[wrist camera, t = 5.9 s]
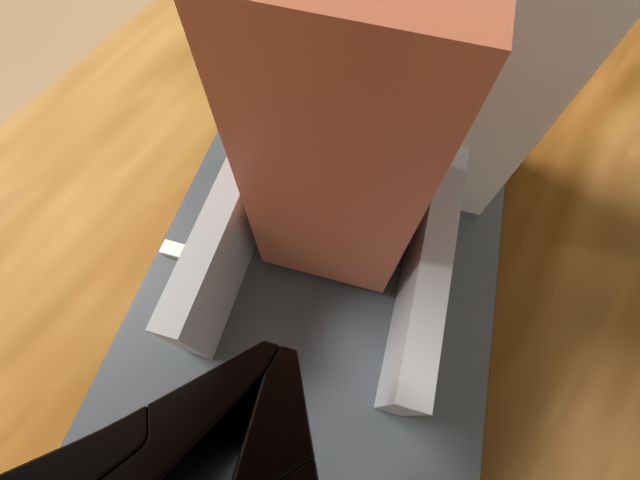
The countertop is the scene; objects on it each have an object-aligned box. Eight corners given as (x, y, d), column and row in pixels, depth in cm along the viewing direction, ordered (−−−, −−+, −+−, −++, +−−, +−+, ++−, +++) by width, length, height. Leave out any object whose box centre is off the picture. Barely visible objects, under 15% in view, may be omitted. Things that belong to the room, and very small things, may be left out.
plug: (382, 292, 15) (511, 50, 5) (262, 261, 16) (168, -15, 6) (400, 208, 17) (525, -101, 7) (291, 181, 17) (258, -141, 7)
